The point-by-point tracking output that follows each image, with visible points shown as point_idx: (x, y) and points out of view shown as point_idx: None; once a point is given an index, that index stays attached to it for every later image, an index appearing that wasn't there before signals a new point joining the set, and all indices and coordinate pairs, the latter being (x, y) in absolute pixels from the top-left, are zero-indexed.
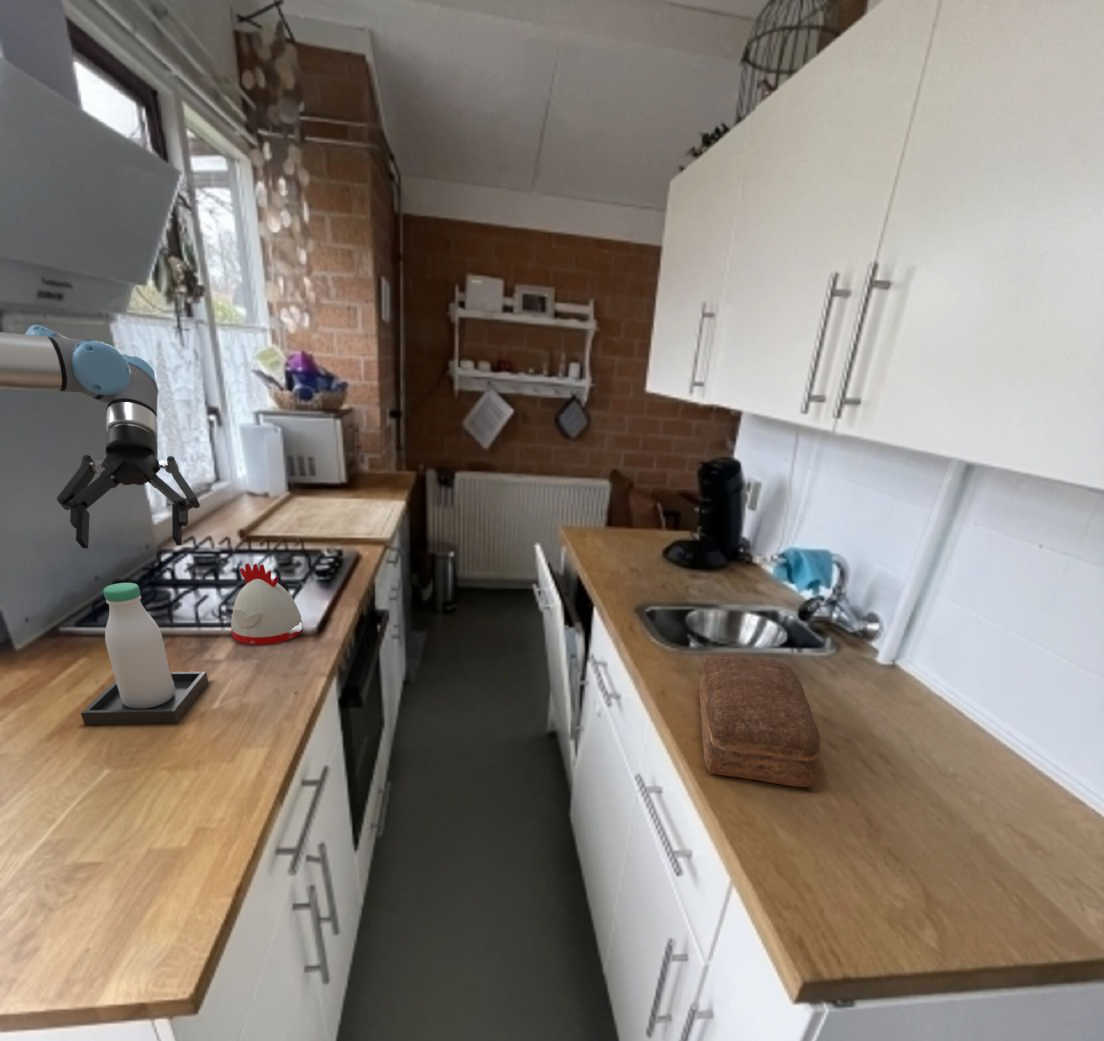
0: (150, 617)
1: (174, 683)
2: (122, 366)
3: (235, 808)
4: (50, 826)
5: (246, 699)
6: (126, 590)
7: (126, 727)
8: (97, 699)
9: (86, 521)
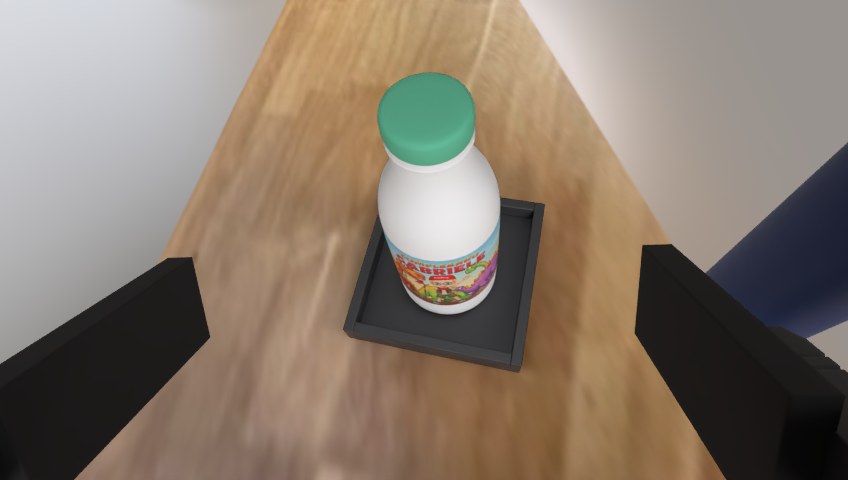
0: (383, 181)
1: (412, 327)
2: None
3: (308, 18)
4: (494, 20)
5: (281, 252)
6: (402, 82)
7: None
8: (533, 247)
9: (710, 398)
